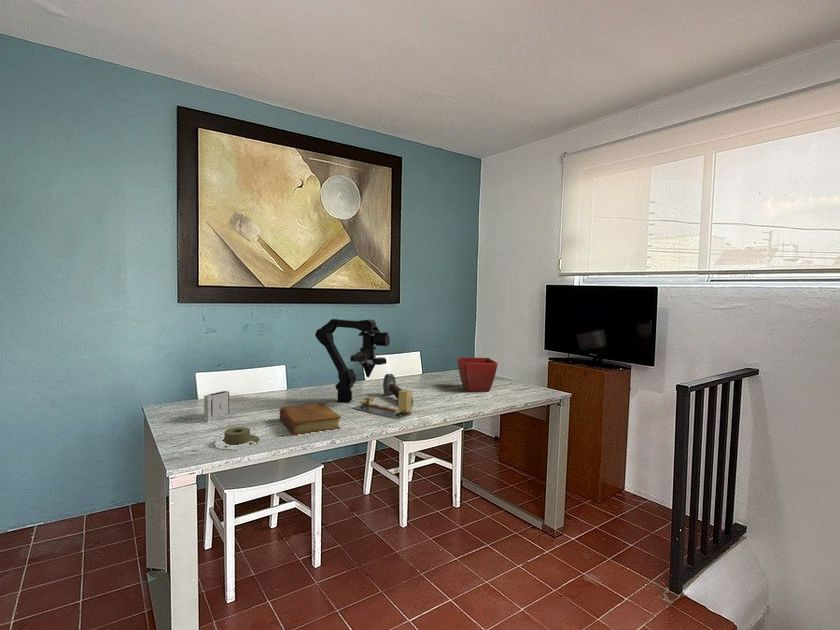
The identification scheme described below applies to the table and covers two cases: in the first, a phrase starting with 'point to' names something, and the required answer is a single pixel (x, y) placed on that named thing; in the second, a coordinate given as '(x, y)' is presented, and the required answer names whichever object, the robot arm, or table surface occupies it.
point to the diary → (309, 418)
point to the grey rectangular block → (216, 404)
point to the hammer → (391, 386)
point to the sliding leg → (404, 401)
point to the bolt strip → (380, 411)
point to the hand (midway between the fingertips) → (367, 377)
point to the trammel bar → (369, 402)
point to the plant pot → (477, 373)
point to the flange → (239, 436)
